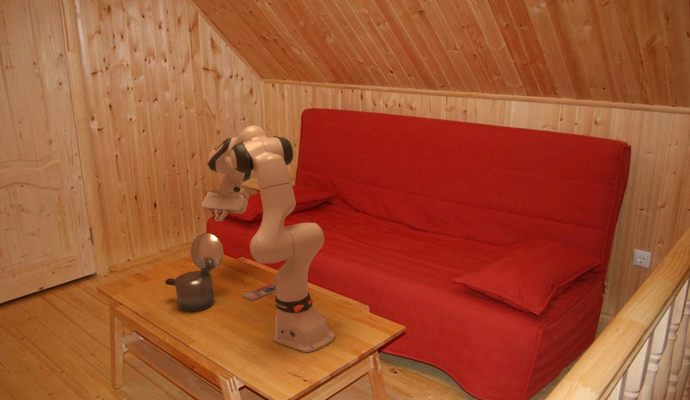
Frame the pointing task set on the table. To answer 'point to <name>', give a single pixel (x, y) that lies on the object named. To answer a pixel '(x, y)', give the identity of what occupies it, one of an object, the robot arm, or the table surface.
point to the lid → (207, 251)
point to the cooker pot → (193, 291)
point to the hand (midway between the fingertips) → (218, 220)
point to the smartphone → (260, 292)
